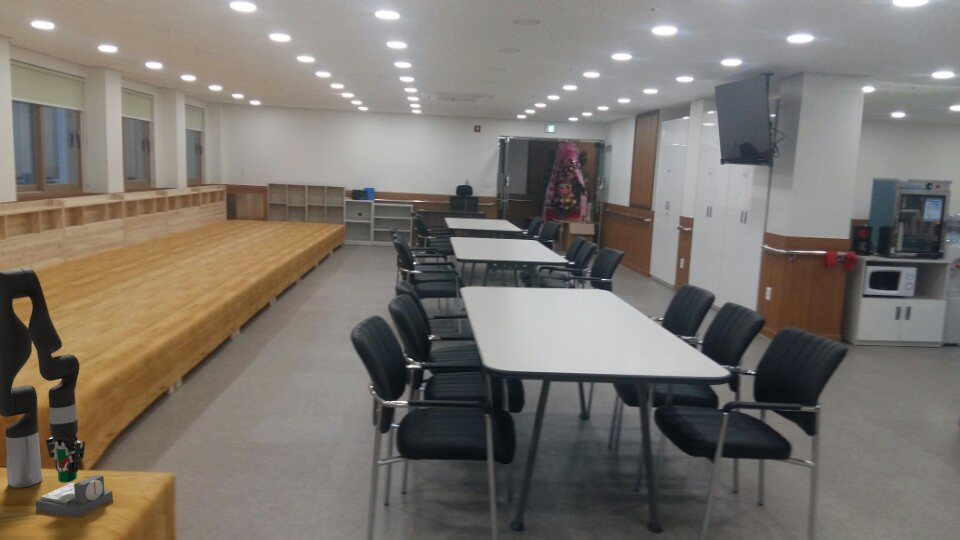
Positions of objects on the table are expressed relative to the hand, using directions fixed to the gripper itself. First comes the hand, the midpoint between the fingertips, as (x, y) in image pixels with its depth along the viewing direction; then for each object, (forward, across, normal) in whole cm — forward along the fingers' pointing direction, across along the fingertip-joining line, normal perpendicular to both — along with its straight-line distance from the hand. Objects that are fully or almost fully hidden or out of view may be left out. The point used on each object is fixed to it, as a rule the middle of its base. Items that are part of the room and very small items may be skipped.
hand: (67, 471), depth 218 cm
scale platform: (+8, 0, 0) cm, 8 cm away
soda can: (+3, 0, 0) cm, 3 cm away
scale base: (+11, +2, 0) cm, 11 cm away
